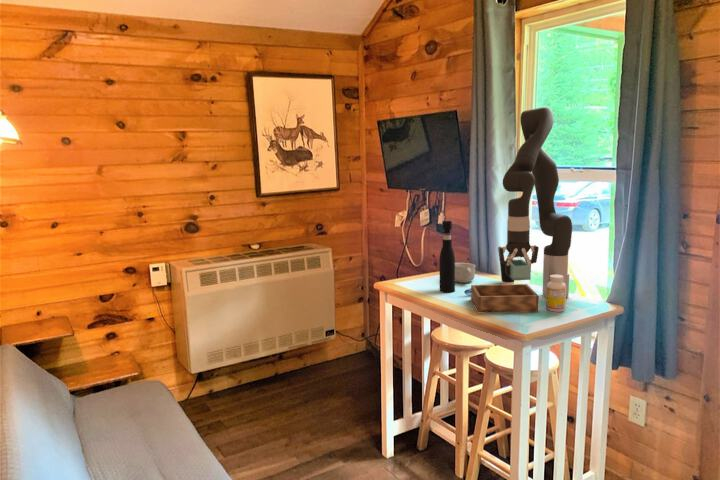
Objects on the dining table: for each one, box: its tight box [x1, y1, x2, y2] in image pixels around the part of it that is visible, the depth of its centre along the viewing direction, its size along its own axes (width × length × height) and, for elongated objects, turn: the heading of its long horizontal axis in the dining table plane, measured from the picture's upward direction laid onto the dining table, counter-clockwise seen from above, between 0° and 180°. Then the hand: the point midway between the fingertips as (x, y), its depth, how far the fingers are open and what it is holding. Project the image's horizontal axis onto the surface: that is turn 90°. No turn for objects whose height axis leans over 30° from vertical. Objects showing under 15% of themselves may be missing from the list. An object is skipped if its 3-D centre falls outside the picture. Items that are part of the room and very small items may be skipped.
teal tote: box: [509, 258, 532, 281], centre depth 191 cm, size 6×10×5 cm, turn 178°
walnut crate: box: [470, 283, 540, 313], centre depth 207 cm, size 22×17×6 cm
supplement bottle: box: [546, 275, 567, 313], centre depth 199 cm, size 7×7×13 cm
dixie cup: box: [498, 256, 519, 285], centre depth 238 cm, size 8×8×11 cm
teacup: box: [455, 262, 477, 284], centre depth 242 cm, size 14×11×8 cm
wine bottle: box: [439, 220, 456, 294], centre depth 227 cm, size 6×6×30 cm
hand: (517, 274), depth 192 cm, fingers closed on teal tote, 6 cm apart
